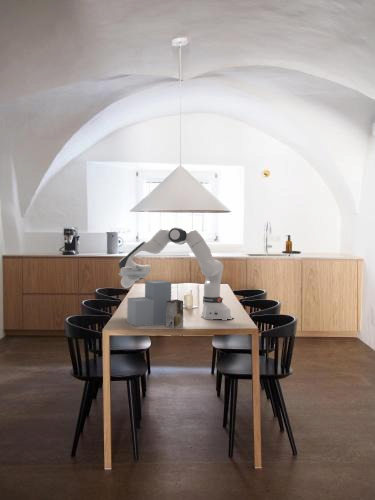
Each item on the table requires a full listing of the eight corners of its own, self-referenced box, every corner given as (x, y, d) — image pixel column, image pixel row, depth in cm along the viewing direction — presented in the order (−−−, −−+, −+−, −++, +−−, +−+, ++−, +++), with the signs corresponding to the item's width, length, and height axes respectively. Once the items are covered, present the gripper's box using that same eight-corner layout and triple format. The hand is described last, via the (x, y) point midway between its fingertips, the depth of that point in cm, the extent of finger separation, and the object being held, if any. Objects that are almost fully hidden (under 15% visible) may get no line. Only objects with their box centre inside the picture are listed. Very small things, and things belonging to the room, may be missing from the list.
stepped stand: (127, 322, 311) (127, 281, 310) (161, 319, 322) (162, 280, 321) (135, 326, 298) (135, 283, 297) (170, 323, 310) (171, 282, 308)
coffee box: (175, 324, 305) (175, 299, 304) (183, 326, 301) (183, 300, 300) (165, 327, 298) (166, 300, 297) (173, 328, 293) (174, 301, 293)
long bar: (151, 271, 307) (151, 265, 307) (146, 271, 305) (146, 265, 305) (139, 268, 324) (139, 263, 324) (134, 268, 323) (134, 263, 323)
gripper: (116, 271, 328) (123, 262, 317) (145, 270, 337) (152, 261, 326) (118, 279, 325) (124, 270, 314) (146, 278, 335) (153, 270, 324)
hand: (139, 266), depth 320 cm, fingers closed on long bar, 2 cm apart
